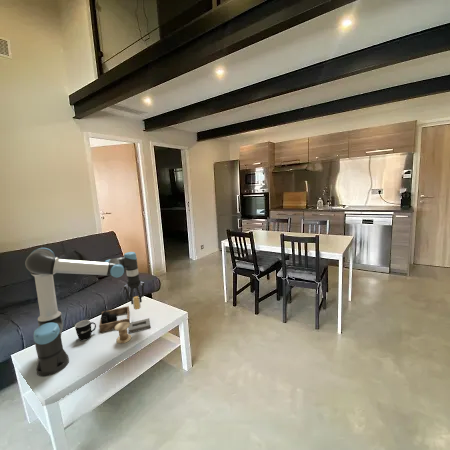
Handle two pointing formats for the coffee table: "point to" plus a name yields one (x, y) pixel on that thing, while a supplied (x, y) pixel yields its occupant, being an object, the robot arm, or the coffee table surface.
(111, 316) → the film camera
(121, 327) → the wooden spool
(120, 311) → the caddy
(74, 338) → the coffee table surface
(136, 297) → the block
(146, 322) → the board
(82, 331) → the mug
